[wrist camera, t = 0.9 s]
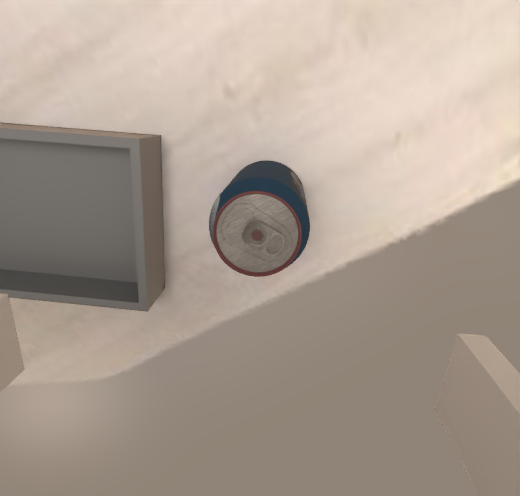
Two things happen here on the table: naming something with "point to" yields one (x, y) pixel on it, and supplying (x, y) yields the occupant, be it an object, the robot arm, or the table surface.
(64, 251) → the bin
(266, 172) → the soda can
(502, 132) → the table surface
